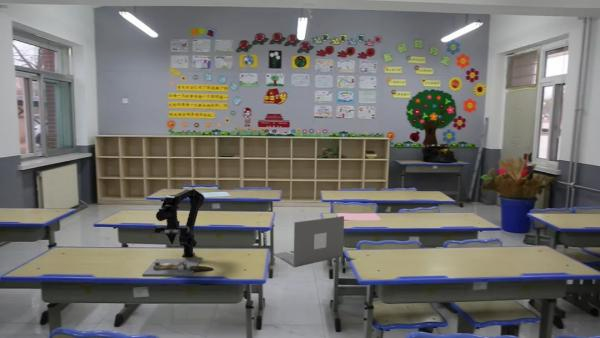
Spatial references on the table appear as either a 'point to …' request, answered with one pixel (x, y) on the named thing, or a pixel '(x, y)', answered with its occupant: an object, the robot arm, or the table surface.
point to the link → (166, 265)
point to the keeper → (181, 266)
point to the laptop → (315, 241)
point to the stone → (200, 268)
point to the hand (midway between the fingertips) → (172, 243)
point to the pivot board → (172, 271)
